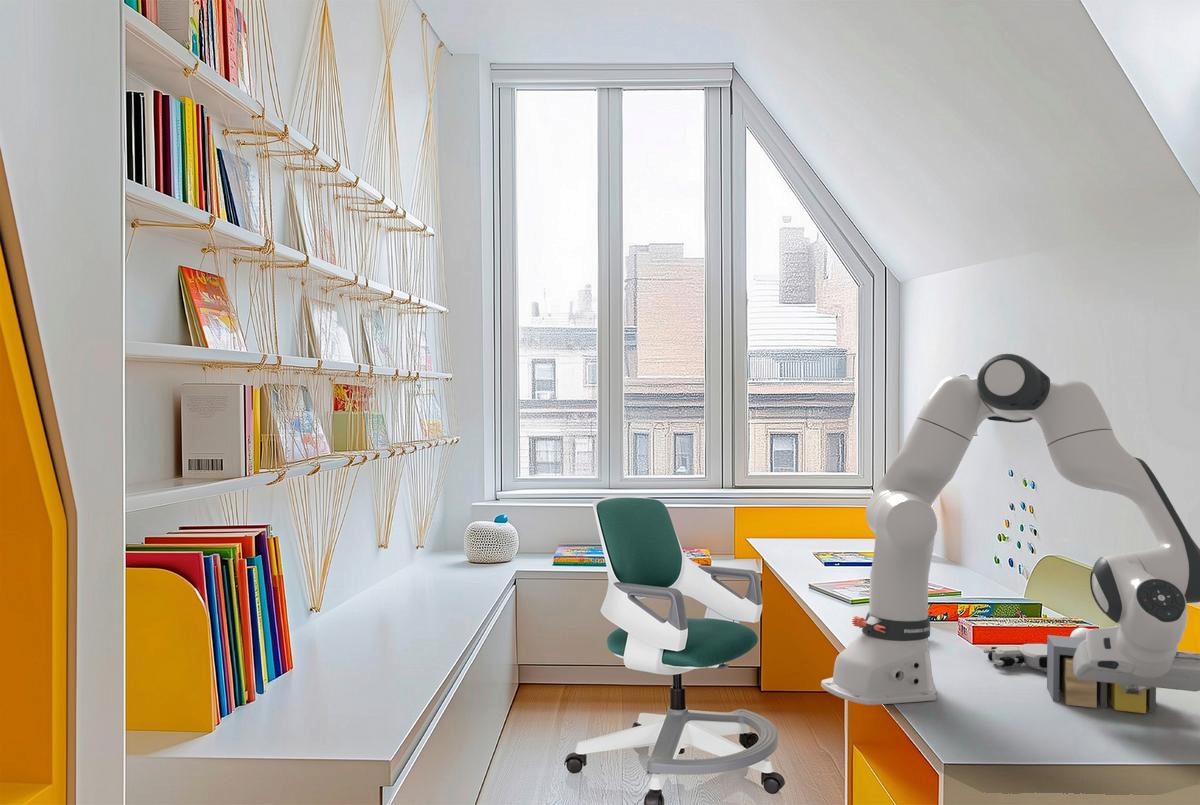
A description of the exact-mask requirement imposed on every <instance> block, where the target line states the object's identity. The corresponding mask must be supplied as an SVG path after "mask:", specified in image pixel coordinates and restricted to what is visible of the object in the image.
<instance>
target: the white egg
mask: <svg viewBox="0 0 1200 805" xmlns="http://www.w3.org/2000/svg"><path fill="white" fill-rule="evenodd" d="M1088 630H1090V629H1089V628H1086V627H1078V628H1075V629H1074V630H1073V631H1071V634H1070V636H1069V637H1075V638H1086V632H1087V631H1088Z"/></svg>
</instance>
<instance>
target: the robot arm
mask: <svg viewBox="0 0 1200 805" xmlns="http://www.w3.org/2000/svg"><path fill="white" fill-rule="evenodd" d="M977 374H978V375H977V377H976V379H970V378H968V377H965V376H960V375H959V376H957V375H953V376H952V375H951V376H947V377H945V378H943V379H942V380H941V381H940V382H939V383H938V384H937V386H935V388H934V389H933V390H932V392H931V394H930V395H929V396H928V397H927V399H926V401H925V402H924V404H923V406H922V408H921V410H919V413H918V415H917V416H916V419H915V420H914V423H913V425H912V427H911V428H910V431H909V432H908V435H907V436H906V439H905V441H904V443H903V445H902V446H901V448H900V450H899V452H898V454H897V456H896V457H895V459H894V461H893V462H892V463H891V465H890V467H889V468H887V471H886V472H885V474H884V475H883V477H882V479H881V480H880V481H879V484H878V485H877V487H876V489H875V490H874V492H873V494H872V495H871V496H870V498H869V500H868V502H867V504H866V509H865V519H866V522H867V524H868V527H869V529H870V530H871V531H872V532H873V533H874V535H875V537H874V539H875V540H874V549H873V557H872V563H871V564H872V565H871V569H870V572H869V608H868V609H869V611H868V612H867V614H866V617H865V618H864V617H860V616H858V615H854V616H853V617H852V621H851V622H852V623H851V624H852V625H853V627H856V628H857V627H858V628H859V629H861V633H860V634H859V635H858V636H857V637H856V638H855V639H854V640H853V641H852V642H851V643H850V644H849V645H847V647H845V648H844V649H843V650H842V651H841V652H840V653H839V654H838V655H837V656H836V657H835V658H836V659H835V662H834V666H833V674H832V675H833V676H832V677H829V678H825V679H822V680H821V681H820V686H821V687H822V689H823V690H825V691H826V692H827V693H829V694H832V695H833V696H836V697H838V698H840V699H844V700H846V701H849V702H853V703H856V704H861V705H865V706H866V705H867V706H876V705H887V704H888V705H889V704H901V703H915V702H927V701H928V702H929V701H936V700H937V695H936V691H937V689H936V686H935V681H934V678H933V671H932V661H931V653H930V648H929V638H930V636H931V619H930V616H929V614H928V613H929V579H930V578H929V577H930V569H931V564H932V558H933V552H934V545H935V538H936V537H935V536H936V533H937V531H938V519H937V516H936V513H935V511H934V509H933V507H932V505H933V504H934V502H935V501H936V500H937V498H938V496H939V495H940V493H941V492H942V491H943V489H944V488H945V487H946V486H947V485H948V484H949V482H951V481H952V479H953V478H954V476H955V474H956V472H957V470H958V468H959V466H960V464H961V462H962V460H963V458H964V456H965V454H966V452H967V450H968V448H969V446H970V444H971V442H972V440H973V438H974V436H975V434H976V432H977V431H978V429H979V426H980V425H981V424H982V422H983V421H985V420H986V419H987V420H989V421H996V422H1006V423H1013V424H1017V423H1018V424H1019V423H1026V422H1031V421H1032V420H1034V421H1036V423H1037V424H1038V425H1039V426H1040V429H1041V431H1042V433H1043V436H1044V439H1045V440H1044V441H1045V443H1046V446H1047V450H1048V452H1049V455H1050V458H1051V460H1052V463H1053V466H1054V467H1055V469H1056V471H1057V472H1058V473H1059V475H1060V476H1062V478H1064V479H1065V480H1066V481H1068V482H1070V483H1072V484H1073V485H1076V486H1079V487H1082V488H1085V489H1090V490H1096V491H1103V492H1104V491H1105V492H1109V493H1114V494H1117V495H1121V496H1123V497H1125V498H1127V499H1130V501H1132V502H1133V503H1134V504H1135V505H1136V506H1137V508H1138V509H1139V510H1140V513H1141V514H1142V516H1143V518H1144V519H1145V521H1146V523H1147V524H1148V526H1149V529H1150V530H1151V532H1152V534H1153V535H1154V537H1155V539H1156V542H1157V543H1158V547H1155V548H1154V547H1153V548H1147V549H1142V550H1136V551H1127V552H1120V553H1115V554H1114V553H1113V554H1110V555H1105V556H1100V557H1099V558H1098V559H1097V560H1096V561H1095V563H1094V564H1093V567H1092V569H1091V573H1090V576H1089V584H1090V585H1089V587H1090V591H1091V595H1092V597H1093V599H1094V601H1095V603H1096V606H1098V608H1099V609H1100V610H1101V612H1102V613H1103V614H1104V615H1106V616H1107V617H1108V618H1109V619H1110V620H1111V621H1113V622H1114V623H1116V624H1119V625H1115V626H1111V627H1109V626H1108V627H1101V628H1092V629H1089V630H1088V631H1087V632H1086V640H1085V641H1083V642H1081V643H1080V644H1079V646H1078V648H1077V650H1076V652H1075V654H1074V657H1073V670H1074V675H1075V677H1076V678H1078V679H1079V680H1088V681H1097V682H1107V683H1117V684H1119V685H1120V686H1121V687H1122V691H1123V693H1126V694H1136V695H1141V694H1142V691H1145V690H1147V689H1150V688H1151V687H1156V689H1158V688H1160V689H1166V690H1167V689H1168V690H1177V691H1186V692H1187V691H1188V692H1199V691H1200V653H1197V652H1193V651H1192V652H1191V651H1181V650H1178V648H1179V644H1180V643H1181V641H1182V639H1183V636H1184V633H1185V630H1186V626H1187V622H1188V604H1193V603H1194V604H1197V603H1200V547H1199V546H1198V545H1197V543H1196V542H1195V540H1193V538H1192V536H1191V535H1190V534H1189V531H1188V530H1187V528H1186V526H1185V524H1184V523H1183V521H1182V519H1181V518H1180V515H1179V514H1178V513H1177V511H1176V509H1175V507H1174V505H1173V504H1172V502H1171V500H1170V498H1169V497H1168V495H1167V493H1166V491H1165V490H1164V488H1163V486H1162V485H1161V483H1160V481H1159V480H1158V478H1157V476H1156V475H1155V474H1154V472H1153V471H1152V469H1151V468H1150V467H1149V465H1148V464H1147V463H1146V462H1145V461H1144V460H1143V459H1142V458H1138V457H1135V456H1133V455H1131V454H1130V453H1129V452H1128V451H1127V450H1126V449H1125V448H1124V447H1123V445H1122V444H1121V443H1120V442H1119V441H1118V439H1117V437H1116V435H1115V433H1114V429H1113V428H1112V426H1111V422H1110V420H1109V417H1108V415H1107V413H1106V411H1105V409H1104V406H1102V403H1101V401H1100V400H1099V398H1098V396H1097V394H1096V393H1095V391H1094V390H1093V388H1092V387H1091V386H1090V385H1088V384H1087V383H1086V382H1083V381H1080V380H1065V381H1064V380H1063V381H1060V382H1059V381H1058V382H1055V383H1054V382H1051V379H1050V377H1049V376H1048V375H1047V374H1046V373H1045V372H1043V371H1042V370H1041V369H1039V367H1037V366H1036V365H1035V363H1033V362H1032V361H1030V360H1028V358H1025V357H1023V356H1020V355H1018V354H1016V353H1015V354H1014V353H1001V354H998V355H994V356H993V357H990V358H989V359H988V360H986V361H985V362H984V363H983V365H982V366H981V367H980V369H979V371H978V373H977Z"/></svg>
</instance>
